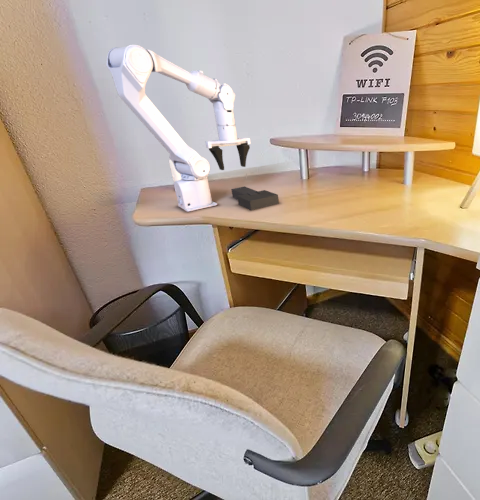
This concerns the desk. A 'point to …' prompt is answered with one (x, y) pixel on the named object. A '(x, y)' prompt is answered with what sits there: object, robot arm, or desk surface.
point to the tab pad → (242, 191)
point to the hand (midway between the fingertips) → (232, 168)
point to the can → (174, 172)
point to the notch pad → (258, 200)
